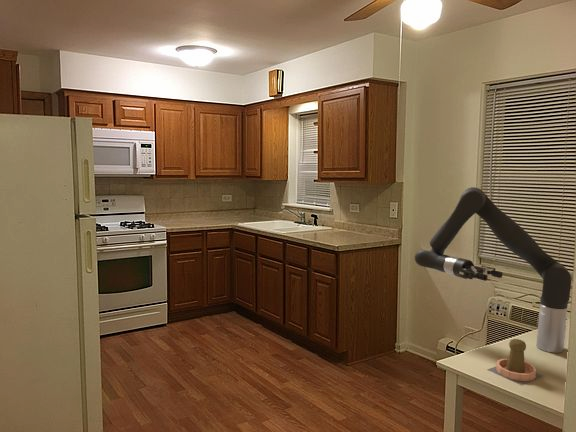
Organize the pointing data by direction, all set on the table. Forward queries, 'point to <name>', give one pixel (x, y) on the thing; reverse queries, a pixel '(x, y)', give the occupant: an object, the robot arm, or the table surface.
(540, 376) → the mat
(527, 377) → the bowl
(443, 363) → the table surface
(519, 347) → the pepper mill
